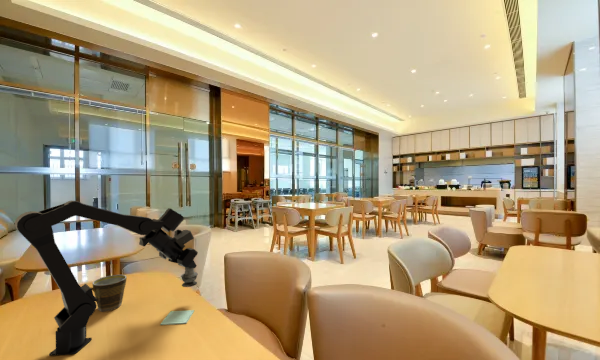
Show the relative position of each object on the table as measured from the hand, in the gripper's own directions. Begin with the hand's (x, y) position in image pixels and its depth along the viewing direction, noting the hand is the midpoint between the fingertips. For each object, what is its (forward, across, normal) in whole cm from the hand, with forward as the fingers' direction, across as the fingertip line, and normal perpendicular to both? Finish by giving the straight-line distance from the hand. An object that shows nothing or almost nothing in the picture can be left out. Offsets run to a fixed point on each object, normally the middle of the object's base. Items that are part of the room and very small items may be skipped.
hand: (192, 265), depth 98 cm
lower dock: (+3, -8, +16) cm, 18 cm away
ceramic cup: (-6, +19, +26) cm, 32 cm away
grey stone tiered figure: (+4, 0, +6) cm, 7 cm away
